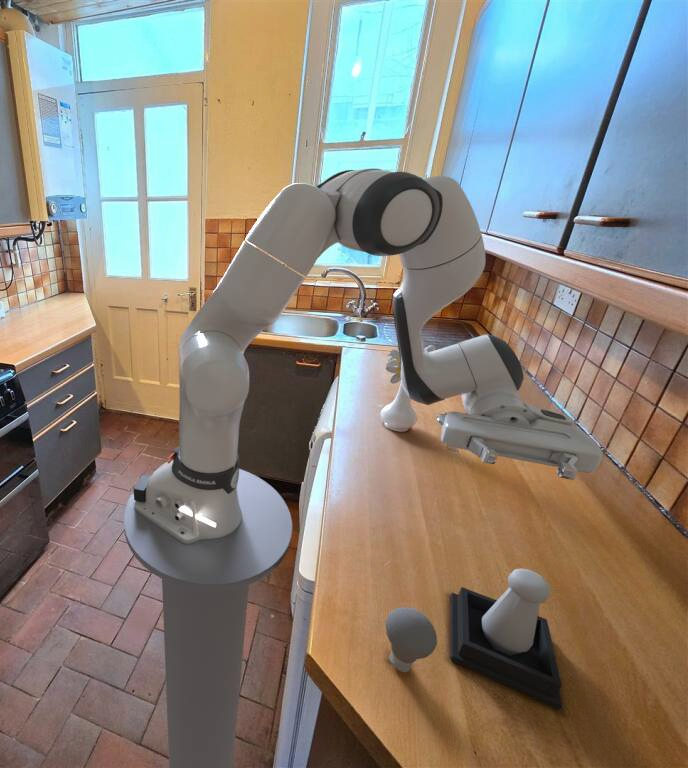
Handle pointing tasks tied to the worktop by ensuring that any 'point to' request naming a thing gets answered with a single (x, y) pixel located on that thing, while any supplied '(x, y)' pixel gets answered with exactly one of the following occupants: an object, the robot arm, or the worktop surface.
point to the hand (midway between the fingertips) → (528, 467)
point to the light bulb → (409, 637)
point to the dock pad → (517, 671)
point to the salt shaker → (516, 613)
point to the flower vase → (400, 398)
